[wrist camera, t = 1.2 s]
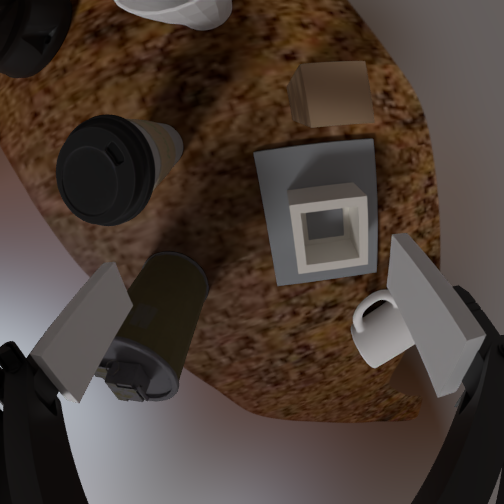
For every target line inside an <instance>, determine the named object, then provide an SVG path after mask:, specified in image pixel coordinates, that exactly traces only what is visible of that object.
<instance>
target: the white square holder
mask: <svg viewBox="0 0 504 504" xmlns="http://www.w3.org/2000/svg"><path fill="white" fill-rule="evenodd" d="M287 196H288V202H289V209H290V216H291V223H292V230H293V237H294V245H295V252H296V260H297V267H298V274H303V273H310V272H318V271H325V270H332V269H339V268H346V267H353V266H360V265H367V264H368V207H367V195H366V194H365V193H364V192H363V191H362V190H361V189H360V188H359V187H358V186H356V185H355V184H354V183H353V182H351V183H342V184H333V185H324V186H316V187H308V188H301V189H293V190H287Z"/></svg>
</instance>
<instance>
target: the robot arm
mask: <svg viewBox="0 0 504 504" xmlns="http://www.w3.org/2000/svg"><path fill="white" fill-rule="evenodd" d="M71 14H72V6H71V2H70V0H0V73H3V74H6V75H7V76H9V77H12V78H26V77H30V76H33V75H35V74H36V73H38V72H39V71H41V70H42V69H43V68H44V67H45V66H46V65H47V64H48V63H49V62H50V61H51V59H52V58H53V57H54V56H55V54H56V53H57V51H58V49H59V48H60V46H61V44H62V42H63V40H64V38H65V36H66V34H67V31H68V28H69V25H70V21H71ZM387 288H388V290H389V291H390V293H391V295H392V297H393V299H394V301H395V303H396V305H397V307H398V309H399V311H400V313H401V315H402V317H403V319H404V321H405V323H406V325H407V327H408V329H409V331H410V333H411V336H412V338H413V340H414V342H415V344H416V346H417V348H418V351H419V353H420V355H421V358H422V360H423V362H424V365H425V367H426V369H427V372H428V374H429V377H430V379H431V382H432V384H433V387H434V389H435V392H436V394H437V397H441V396H444V395H447V394H450V393H453V392H456V390H457V389H458V387H459V385H460V384H461V382H463V384H464V386H465V391H464V392H463V394H462V395H461V397H460V398H459V400H458V401H457V403H456V405H455V407H457V406H458V405H459V406H458V409H457V411H456V414H455V417H454V419H453V422H452V425H451V427H450V430H449V432H448V434H447V437H446V439H445V441H444V444H443V446H442V448H441V450H440V452H439V454H438V456H437V458H436V460H435V463H434V464H433V466H432V468H431V470H430V472H429V474H428V476H427V478H426V479H425V481H424V483H423V485H422V486H421V488H420V490H419V492H418V493H417V495H416V496H415V498H414V500H413V501H412V503H411V504H488V502H489V499H490V497H491V495H492V492H493V489H494V487H495V485H496V482H497V479H498V477H499V474H500V471H501V468H502V472H501V479H500V485H499V490H498V495H497V500H496V504H504V335H499V333H498V331H497V330H496V329H495V327H494V326H493V324H492V323H491V321H490V320H489V319H488V317H487V316H486V314H485V313H484V312H483V310H481V308H480V306H479V305H478V304H477V303H476V302H475V300H474V298H473V297H472V296H471V295H470V293H469V292H467V291H466V290H465V289H463V288H462V287H460V286H453V287H452V286H451V285H450V283H449V282H448V281H447V280H446V278H445V277H444V276H443V275H442V273H441V272H440V271H439V270H438V268H437V267H436V266H435V265H434V264H433V262H432V261H431V260H430V259H429V258H428V256H427V255H426V254H425V253H424V252H423V251H422V249H421V248H420V247H419V246H418V245H417V244H416V243H415V242H414V240H413V239H412V238H411V237H410V236H409V235H408V234H407V233H402V234H392V241H391V252H390V262H389V271H388V280H387ZM132 307H133V304H132V302H131V300H130V298H129V295H128V293H127V291H126V288H125V286H124V283H123V281H122V278H121V276H120V273H119V271H118V268H117V266H116V263H115V262H109V263H103V264H102V265H101V266H100V267H99V269H98V270H97V271H96V272H95V273H94V274H93V275H92V276H91V278H90V279H89V280H88V281H87V282H86V283H85V284H84V286H83V287H82V288H81V289H80V290H79V292H78V293H77V294H76V295H75V296H74V297H73V299H72V300H71V301H70V302H69V304H68V305H67V306H66V307H65V308H64V310H63V311H62V312H61V313H60V315H59V316H58V317H57V318H56V320H55V321H54V322H53V323H52V324H51V326H50V327H49V328H48V329H47V331H46V332H45V333H44V335H43V337H41V339H40V340H39V341H38V343H37V344H36V345H35V347H34V348H33V350H32V351H31V353H30V354H29V355H28V357H27V358H25V356H24V355H23V353H22V352H21V350H20V349H19V348H18V346H17V345H16V343H15V342H13V341H9V342H6V343H5V344H3V345H2V346H1V347H0V366H1V367H2V368H3V369H1V367H0V403H1V404H2V405H3V411H2V410H1V409H0V504H88V501H87V498H86V496H85V493H84V490H83V488H82V485H81V482H80V479H79V476H78V473H77V470H76V466H75V463H74V459H73V456H72V452H71V449H70V445H69V440H68V436H67V432H66V428H65V423H64V418H63V413H62V407H61V402H60V400H59V399H58V397H57V394H58V392H60V393H61V394H62V395H63V396H64V397H65V398H66V400H69V401H72V402H75V403H80V401H81V399H82V396H83V395H84V393H85V391H86V389H87V387H88V385H89V383H90V381H91V379H92V377H93V376H94V374H95V372H96V370H97V368H98V366H99V364H100V362H101V361H102V359H103V357H104V355H105V353H106V352H107V350H108V348H109V346H110V344H111V343H112V341H113V339H114V337H115V336H116V334H117V332H118V330H119V329H120V327H121V325H122V324H123V322H124V320H125V318H126V317H127V315H128V313H129V312H130V310H131V308H132Z"/></svg>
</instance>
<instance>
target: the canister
mask: <svg viewBox="0 0 504 504" xmlns="http://www.w3.org/2000/svg"><path fill="white" fill-rule="evenodd" d="M208 290H209V286H208V281H207V278H206V275H205V273H204V271H203V270H202V268H201V267H200V266H199V265H198V264H197V263H196V262H195V261H194V260H192V259H191V258H189V257H187V256H185V255H183V254H181V253H177V252H159V253H157V254H154V255H152V256H151V257H150V258H149V259H148V260H147V261H146V262H145V264H144V266H143V268H142V270H141V272H140V273H139V275H138V276H137V278H136V279H135V280H134V282H133V283H132V285H131V286H130V288H129V289H128V291H127V293H128V295H129V298H130V300H131V302H132V304H133V307H132V308H131V310H130V312H129V313H128V315H127V317H126V318H125V320H124V322H123V324H122V325H121V327H120V329H119V330H118V332H117V334H116V336H115V337H114V339H113V341H112V343H111V344H110V346H109V348H108V350H107V352H106V353H105V355H104V357H103V359H102V361H101V362H100V364H99V366H98V368H97V370H96V372H95V374H94V375H95V376H96V377H101V378H103V379H104V380H105V383H106V384H107V385H108V387H109V388H110V389H111V391H112V392H113V393H114V394H115V396H116V397H117V398H118V399H119V400H124V401H128V400H133V401H139V402H143V401H144V400H146V401H148V400H149V401H163V400H167V399H170V398H172V397H173V396H174V395H175V394H176V393H177V392H178V388H179V379H180V375H181V372H182V369H183V366H184V362H185V359H186V356H187V353H188V350H189V346H190V343H191V340H192V337H193V334H194V331H195V327H196V324H197V321H198V318H199V315H200V312H201V309H202V306H203V303H204V301H205V300H206V298H207V295H208Z"/></svg>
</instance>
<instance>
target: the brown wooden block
mask: <svg viewBox="0 0 504 504" xmlns="http://www.w3.org/2000/svg"><path fill="white" fill-rule="evenodd" d="M287 91H288V97H289V102H290V107H291V113H292V119H293V120H294V121H296V122H299V123H301V124H304V125H306V126H309V127H311V128H314V127H323V126H334V125H347V124H362V123H375V120H374V112H373V105H372V98H371V92H370V86H369V80H368V74H367V69H366V64H365V61H338V62H320V63H307V64H300V65H299V67H298V68H297V70H296V72H295V73H294V75H293V77H292V79H291V80H290V82H289V84H288V85H287Z"/></svg>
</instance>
